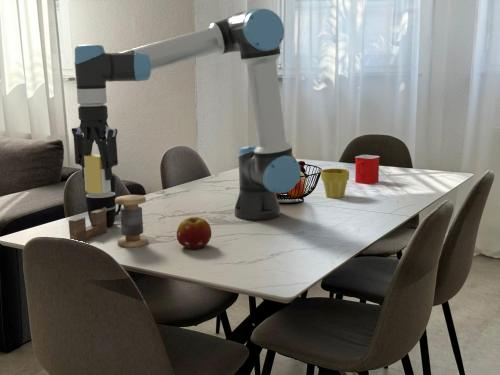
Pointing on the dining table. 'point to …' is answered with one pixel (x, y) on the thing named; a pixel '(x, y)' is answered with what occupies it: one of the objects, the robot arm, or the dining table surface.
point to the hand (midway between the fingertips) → (98, 190)
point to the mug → (103, 205)
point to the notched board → (86, 233)
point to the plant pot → (335, 182)
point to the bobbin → (131, 221)
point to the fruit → (194, 233)
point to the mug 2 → (367, 169)
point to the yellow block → (93, 173)
